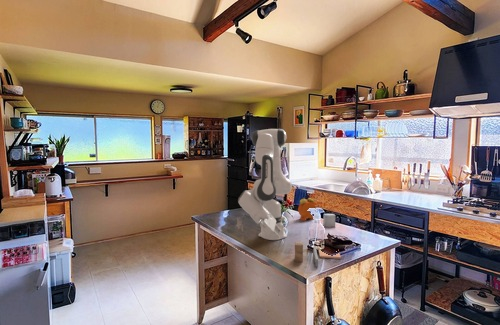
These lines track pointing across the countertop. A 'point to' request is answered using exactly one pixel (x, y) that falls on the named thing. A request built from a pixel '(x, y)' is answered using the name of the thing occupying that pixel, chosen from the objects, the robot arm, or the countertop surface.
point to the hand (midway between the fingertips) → (279, 234)
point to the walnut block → (299, 251)
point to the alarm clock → (305, 208)
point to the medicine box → (329, 220)
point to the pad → (324, 255)
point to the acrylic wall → (315, 256)
